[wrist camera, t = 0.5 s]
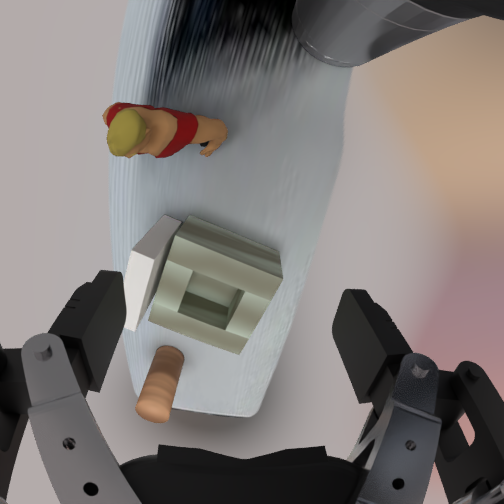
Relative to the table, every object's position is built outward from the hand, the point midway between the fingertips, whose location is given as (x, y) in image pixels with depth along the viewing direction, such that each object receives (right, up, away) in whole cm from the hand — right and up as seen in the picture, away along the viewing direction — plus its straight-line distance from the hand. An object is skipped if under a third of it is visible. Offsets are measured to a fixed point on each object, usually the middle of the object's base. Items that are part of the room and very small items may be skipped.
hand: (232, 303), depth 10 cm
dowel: (-10, -12, +28) cm, 32 cm away
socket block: (-3, 0, +22) cm, 23 cm away
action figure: (-6, +14, +16) cm, 22 cm away
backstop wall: (-9, +2, +21) cm, 23 cm away
